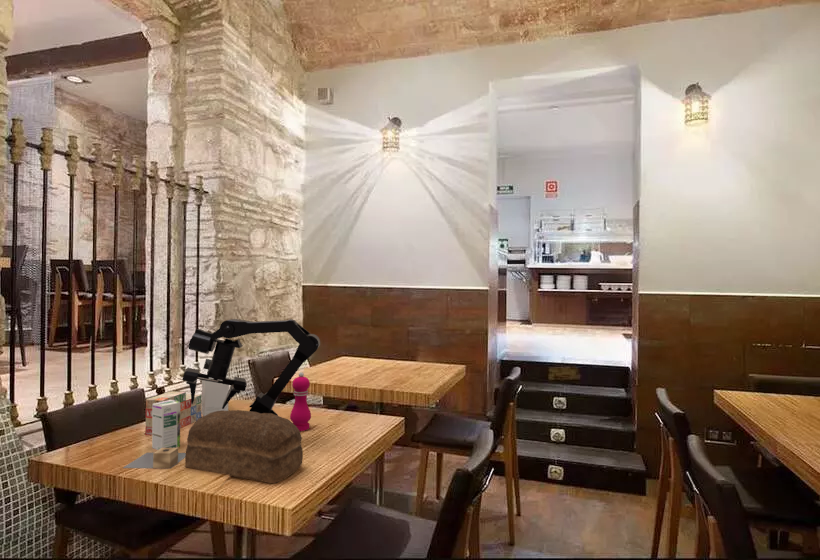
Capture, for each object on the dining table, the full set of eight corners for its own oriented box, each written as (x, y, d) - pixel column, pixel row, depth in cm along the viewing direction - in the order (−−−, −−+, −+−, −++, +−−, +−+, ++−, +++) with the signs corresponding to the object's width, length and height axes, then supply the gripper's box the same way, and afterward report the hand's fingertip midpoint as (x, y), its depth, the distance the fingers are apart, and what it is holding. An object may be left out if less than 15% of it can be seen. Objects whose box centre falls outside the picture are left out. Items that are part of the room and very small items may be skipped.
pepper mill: (314, 429, 166) (314, 372, 166) (294, 433, 162) (295, 374, 162) (306, 424, 172) (307, 369, 172) (286, 428, 168) (287, 371, 168)
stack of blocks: (186, 418, 179) (187, 385, 179) (201, 419, 178) (202, 386, 178) (144, 435, 158) (145, 398, 158) (161, 436, 157) (162, 399, 157)
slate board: (190, 455, 140) (191, 452, 140) (170, 471, 128) (170, 468, 128) (146, 455, 139) (147, 452, 140) (122, 470, 127) (122, 467, 127)
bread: (278, 487, 119) (279, 423, 119) (177, 470, 129) (178, 412, 129) (308, 466, 132) (309, 409, 133) (215, 452, 143) (216, 400, 143)
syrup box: (161, 454, 140) (162, 405, 141) (151, 450, 144) (152, 402, 144) (180, 448, 145) (181, 401, 146) (169, 445, 148) (170, 398, 149)
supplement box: (228, 415, 184) (229, 376, 185) (204, 417, 180) (204, 378, 180) (225, 409, 192) (225, 372, 192) (201, 412, 188) (201, 374, 188)
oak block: (177, 462, 132) (178, 447, 132) (169, 468, 128) (170, 453, 128) (161, 462, 132) (162, 447, 132) (153, 468, 128) (153, 452, 128)
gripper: (250, 358, 160) (237, 403, 159) (192, 346, 153) (178, 393, 152) (252, 366, 150) (238, 414, 149) (190, 353, 143) (174, 403, 142)
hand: (207, 406), depth 148 cm, fingers open, 9 cm apart
